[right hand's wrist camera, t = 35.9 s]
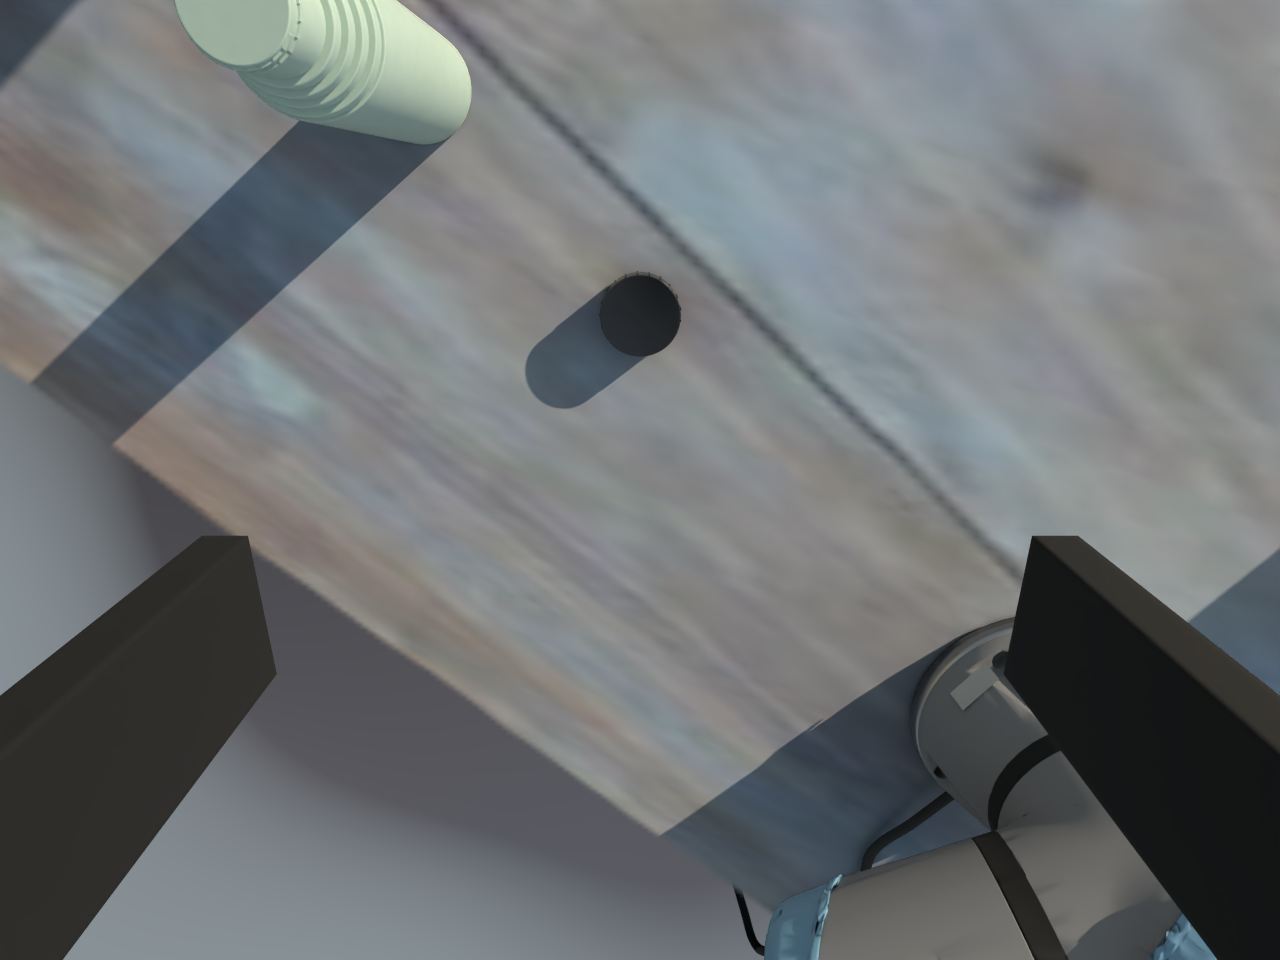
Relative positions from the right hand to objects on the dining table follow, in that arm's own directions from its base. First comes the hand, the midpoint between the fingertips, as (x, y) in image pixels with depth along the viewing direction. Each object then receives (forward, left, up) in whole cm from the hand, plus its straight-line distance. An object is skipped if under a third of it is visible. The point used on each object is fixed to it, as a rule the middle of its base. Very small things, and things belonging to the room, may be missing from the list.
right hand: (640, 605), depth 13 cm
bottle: (+8, +14, -33) cm, 36 cm away
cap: (0, 0, -31) cm, 31 cm away
